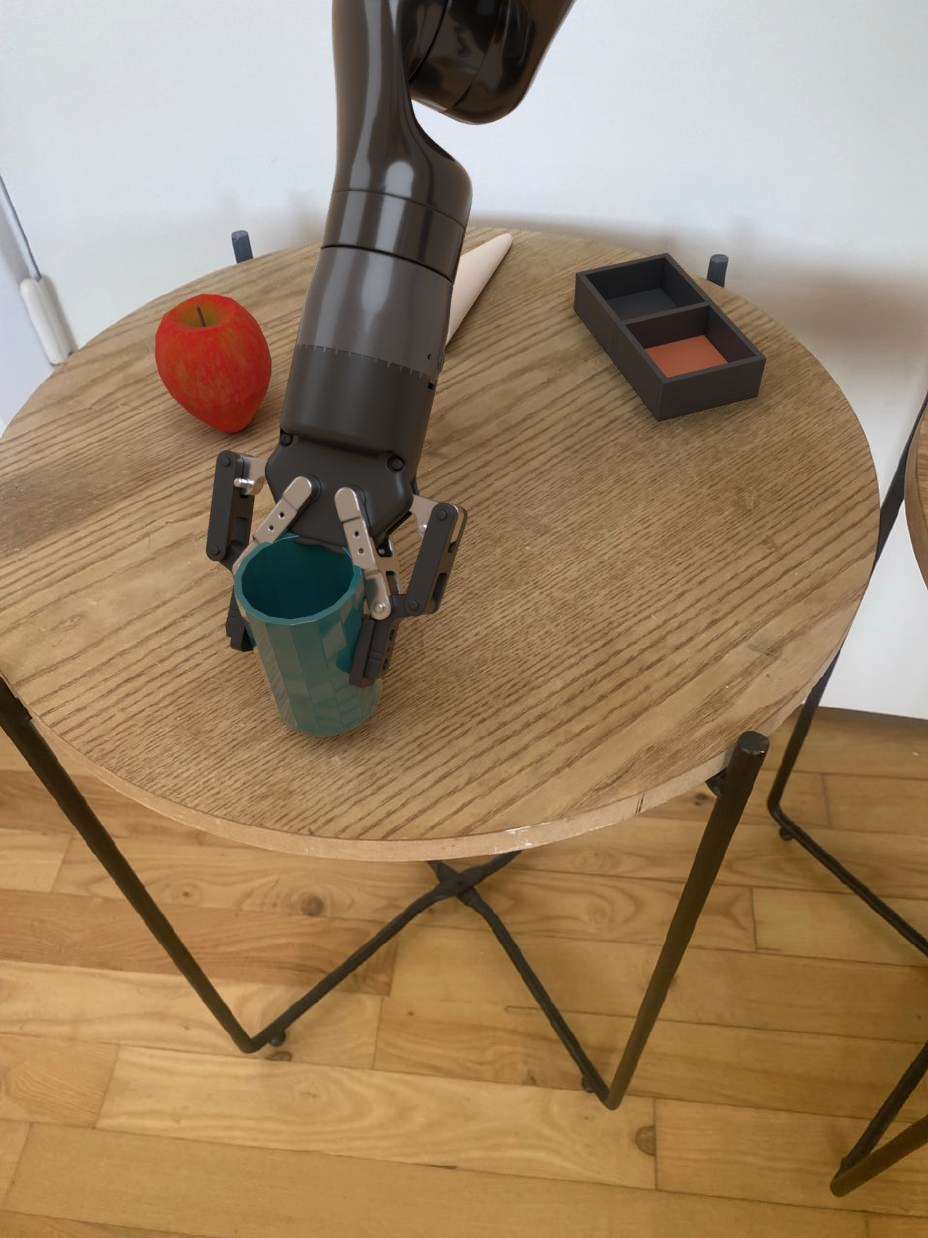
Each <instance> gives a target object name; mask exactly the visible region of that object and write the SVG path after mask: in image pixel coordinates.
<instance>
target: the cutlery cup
mask: <svg viewBox="0 0 928 1238" xmlns="http://www.w3.org/2000/svg"><path fill="white" fill-rule="evenodd" d="M298 537H299V535H296V534H295V535H294V534H292V533H285V535H284V536H282V537H281V538H280V539H278V540H277V541H275V542H274V543H273V544H272V543H269V542H263V543H261V544H259V545H258V546H257V547H255V548H254V549H253V550H252V551H251V552H250V553H249V554H248V555H247V556H246V557H245V558H243V560H242V561H241V563H240V566H239V568H238V570H237V572H236V574H235V576H234V578H233V585H234V593H235V598H236V601H237V604H238V607H239V610H240V612H241V615H242V618H243V621H244V624H245V627H246V630H247V633H248V635H249V638H250V641H251V644H252V647H253V652H254V655H255V658H256V662H257V664H258V667H259V670H260V673H261V675H262V679H263V681H264V684H265V686H266V690H267V692H268V696H269V698H270V701H271V705H272V706H273V707H274V710H275V713H276V714H277V716H278V718H279V719H280V721H282V722H283V723H284V725H286V726H287V728H290V729H291V730H293V731H295V732H297V733H298V734H302V735H305V736H310V737H318V738H325V737H334V736H338V735H342V734H345V733H347V732H350V731H352V730H354V729H355V728H357V727H359V726H361V725H362V724H363V723H364V722H365V721H367V720H368V719H369V717H371V716H372V714H373V713H374V712H375V710H376V709H377V707H378V706H379V703H380V700H381V698H382V694H383V679H382V678H383V677H382V678H379V679H376V681H375V683H374V684H373V685H372V686H369V687H366V688H363V689H362V688H359V687H355V686H352V685H350V684H349V677H350V672H351V668H352V663H353V659H354V654H355V650H356V645H357V641H358V636H359V631H360V627H361V624H362V618H363V617H369V614H370V612H369V609H368V605H367V601H366V597H365V593H364V582H363V577H362V571H361V567H360V566H356V565H353V562H352V558H351V554H350V551H349V548H346V547H342V548H343V550H344V552H345V554H346V555H342V554H338V553H335V552H332V551H330V550H329V549H327V548H325V547H324V546H322V545H304V544H300V543H296V542H293V540H295V539H296V538H298Z"/></svg>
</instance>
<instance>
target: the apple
mask: <svg viewBox="0 0 928 1238" xmlns="http://www.w3.org/2000/svg"><path fill="white" fill-rule="evenodd" d="M268 343H269V342H268V341H267V339H266V336H265V335H264V333H263V330H262V329H261V326H260V324H259V322H258V320H257V319H256V318H255V317H254V316H253V314H252V313H250V312H249V311H248V310H247V308H245V307H244V306H242V305H241V304H240V303H239V302H238V301H236V300H235V299H234V298H233V297H229V296H225V295H221V294H213V293H200V294H198V295H194V296H191V297H189V298H188V299H186V300H184V301H181V302H180V303H178V304H177V305H176V306H174V307H173V308H171V309H170V310H168V311H167V312H165V313H163V315H162V318H161V320H160V323H159V325H158V327H157V329H156V331H155V335H154V361H155V364H156V365H155V366H156V368H157V372H158V376H159V377H160V380H161V382H162V383H163V385H164V387H165V389H166V390H167V392H168V393H169V395H170V396H171V397H172V398H173V399H174V400H175V401H176V403H178V404H179V405H180V406H181V407H182V408H183V409H184V410H185V411H186V412H187V413H189V414H190V415H191V416H192V417H194V418H196V419H197V420H199V421H200V422H202V423H204V424H206V425H207V426H209V427H212V428H213V429H217V430H219V431H221V432H224V433H228V434H233V433H239V432H240V431H242V430H244V429H246V427H248V425H249V424H250V423H251V421H252V419H253V418H254V416H255V415H256V413H257V411H258V410H259V408H260V406H261V404H262V403H263V401H264V399H265V397H266V395H267V392H268V390H269V385H270V381H271V378H272V370H273V369H272V368H273V367H272V366H273V365H272V364H273V360H272V356H271V352H270V347H269V344H268Z"/></svg>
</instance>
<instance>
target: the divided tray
mask: <svg viewBox="0 0 928 1238" xmlns="http://www.w3.org/2000/svg"><path fill="white" fill-rule="evenodd" d="M573 310H574V312H575V313H576V314H577V315H578V318H580V320H581V321H582V322H583V324H584V325H585V326H586V327H587V329H588V331H589V332H590V333H591V334H592V335H593V337H594V339H595V340H596V341H597V342H598V344H599V345H600V346H601V348H602V349H603V351H605V353H606V354H607V356H608V357H609V358H610V360H611V361H612V362H613V364H614V365H615V367H616V368H617V369H618V370H619V372H620V373H621V374H622V375H623V377H624V378H625V379H626V381H627V382H628V384H629V385H630V386H631V388H632V389H633V390H634V391H635V393H636V394H637V396H638V397H639V398H640V400H641V401H642V402H643V403H644V405H645V406H646V407H647V409H648V410H649V411H650V413H651V414H652V415H653V417H654V418H655V419H656V421H657V422H662V421H665V420H670V419H673V418H676V417H681V416H684V415H688V414H693V413H696V412H700V411H704V410H708V409H712V408H716V407H720V406H724V405H728V404H731V403H736V402H740V401H744V400H748V399H751V398H757V397H758V396H759V392H760V388H761V387H760V386H761V384H762V380H763V375H764V371H765V367H766V363H767V362H766V361H767V357H766V356H765V354H763V352H761V351H760V349H759V348H758V347H757V346H756V345H755V344H754V343H753V342H752V340H751V339H749V338H748V337H747V335H745V333H744V332H743V331H742V330H741V329H740V327H738V325H737V324H736V323H735V322H734V321H733V320H731V318H730V317H729V316H728V314H726V313H725V312H724V310H723V309H722V308H721V307H719V306H718V304H716V302H715V301H714V300H713V299H712V298H711V297H710V296H709V295H708V294H707V292H705V290H704V289H703V288H702V287H701V286H700V285H699V284H698V283H697V282H696V281H695V280H694V279H693V278H692V277H691V276H690V275H689V273H688V272H687V271H686V270H685V269H684V268H683V267H682V266H681V265H680V263H678V261H677V260H675V258H674V257H673V256H672V255H671V254H670V253H669V252H664V253H658V254H654V255H650V256H649V255H648V256H646V257H641V258H636V259H631V260H626V261H623V262H617V263H613V264H608V265H605V266H600V267H595V268H590V269H587V270H582V271H576V272H575V281H574V299H573Z"/></svg>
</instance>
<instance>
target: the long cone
mask: <svg viewBox="0 0 928 1238" xmlns="http://www.w3.org/2000/svg"><path fill="white" fill-rule="evenodd" d="M513 241H514V239H513V235H512V234H511V233H508V232H507V233H503V234H499V235H498V236H496V237H494V238H492V239H490V240H488V241H486V242H485V243H483V244H481V245H479V246H477V247H475V248H473V249H472V250H470V251H468V252H466V253H464V254H461V257H460V261H459V266H458V270H457V275H456V279H455V284H454V285H453V293H452V300H451V310H450V322H449V331H448V336H447V342H446V346H447V345H448V344H449V342H450V340H451V339H452V337H453V336H454V334H455V333H456V331H457V330H458V328H459V327H460V325H461V324H462V322H463V320H464V318H465V317H466V316H467V314H468V312H469V311H470V310H471V308H472V307H473V305H474V303H475V302H476V300H477V299H478V298H479V296H480V294H481V293H482V292H483V290H484V288H485V287H486V286H487V283H488V282H489V280H490V279H491V277H492V276H493V275H494V273H495V271H496V270H497V269H498V267H499V265H500V264H501V262H502V261H503V259H504V257H505V256H506V254H507V253H508V252H509V250H510V248H511V246H512V244H513Z"/></svg>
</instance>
